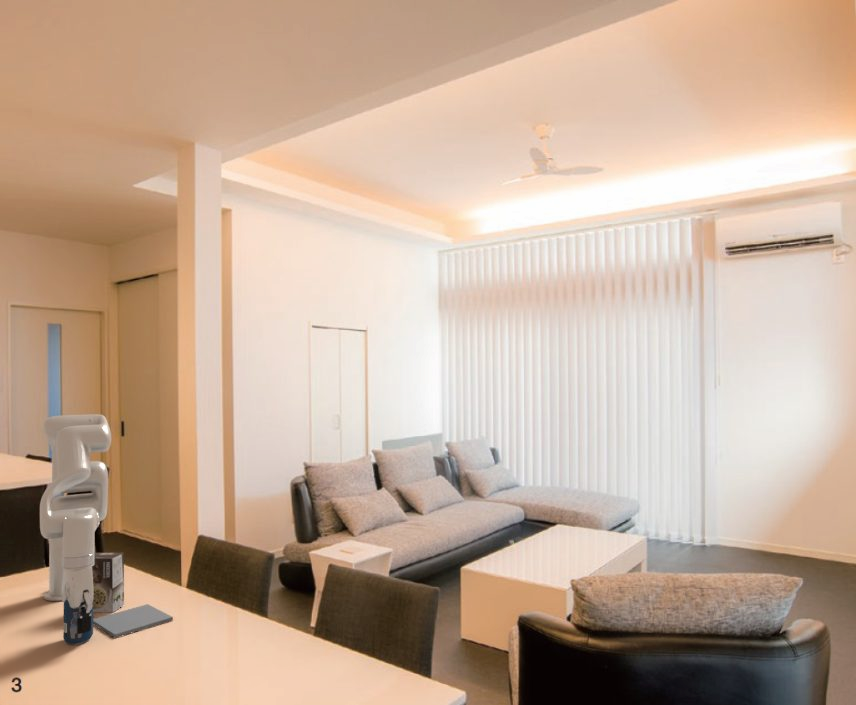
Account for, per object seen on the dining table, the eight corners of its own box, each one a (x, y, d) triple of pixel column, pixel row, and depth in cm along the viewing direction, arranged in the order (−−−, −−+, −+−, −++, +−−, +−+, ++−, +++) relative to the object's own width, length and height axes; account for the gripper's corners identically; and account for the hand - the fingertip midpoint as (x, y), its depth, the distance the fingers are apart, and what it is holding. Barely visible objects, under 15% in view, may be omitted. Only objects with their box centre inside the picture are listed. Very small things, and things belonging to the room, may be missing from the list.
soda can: (86, 632, 176) (86, 588, 176) (97, 639, 171) (97, 593, 172) (59, 641, 170) (59, 595, 171) (69, 648, 166) (70, 601, 166)
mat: (91, 623, 182) (91, 619, 183) (147, 607, 194) (147, 604, 194) (115, 638, 172) (115, 634, 172) (172, 620, 184) (172, 617, 184)
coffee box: (125, 605, 196) (125, 552, 197) (112, 613, 190) (112, 558, 191) (96, 604, 197) (97, 551, 198) (83, 612, 191) (83, 557, 191)
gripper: (51, 558, 174) (51, 624, 174) (75, 570, 163) (75, 641, 162) (81, 552, 180) (81, 616, 179) (106, 563, 168) (106, 632, 168)
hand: (78, 627), depth 171 cm, fingers closed on soda can, 6 cm apart
